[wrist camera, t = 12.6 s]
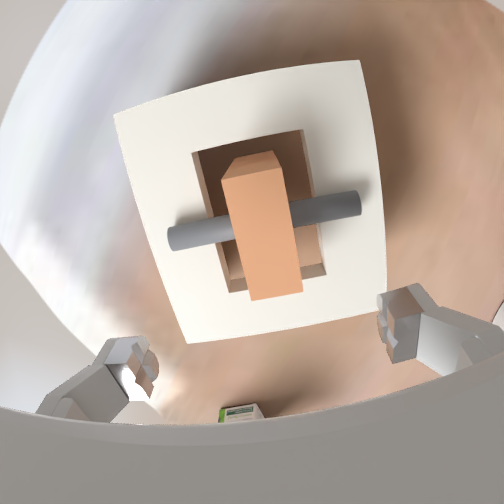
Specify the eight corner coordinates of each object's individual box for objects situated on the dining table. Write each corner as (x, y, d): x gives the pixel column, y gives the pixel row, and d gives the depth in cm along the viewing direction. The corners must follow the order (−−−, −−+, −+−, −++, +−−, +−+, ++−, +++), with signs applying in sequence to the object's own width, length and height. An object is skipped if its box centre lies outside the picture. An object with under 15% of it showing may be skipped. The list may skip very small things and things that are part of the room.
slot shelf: (326, 79, 25) (367, 55, 14) (354, 256, 32) (393, 319, 21) (158, 116, 27) (101, 114, 16) (205, 284, 33) (183, 356, 23)
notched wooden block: (272, 150, 24) (281, 167, 15) (288, 233, 26) (303, 291, 18) (234, 158, 24) (220, 180, 15) (253, 240, 27) (251, 301, 18)
